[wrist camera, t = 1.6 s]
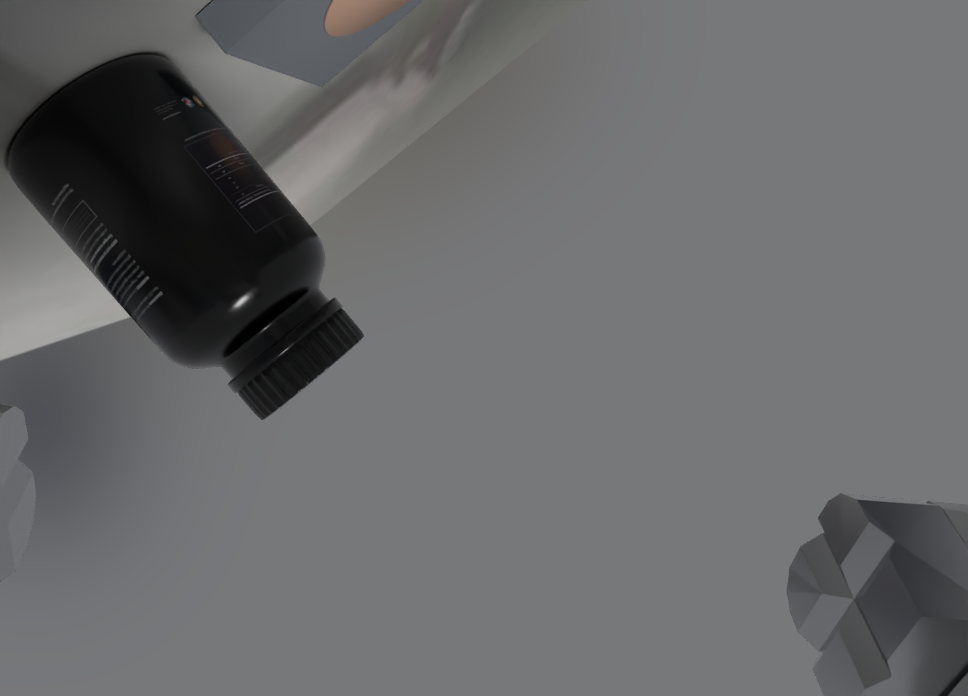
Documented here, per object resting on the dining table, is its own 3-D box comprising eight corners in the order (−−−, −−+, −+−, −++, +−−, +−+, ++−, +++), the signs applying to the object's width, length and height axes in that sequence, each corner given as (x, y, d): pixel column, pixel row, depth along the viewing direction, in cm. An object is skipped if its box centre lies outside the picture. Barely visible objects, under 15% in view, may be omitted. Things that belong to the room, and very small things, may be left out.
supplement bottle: (84, 166, 34) (281, 402, 36) (-42, 182, 28) (203, 469, 29) (203, 50, 32) (406, 304, 34) (96, 38, 26) (352, 353, 27)
